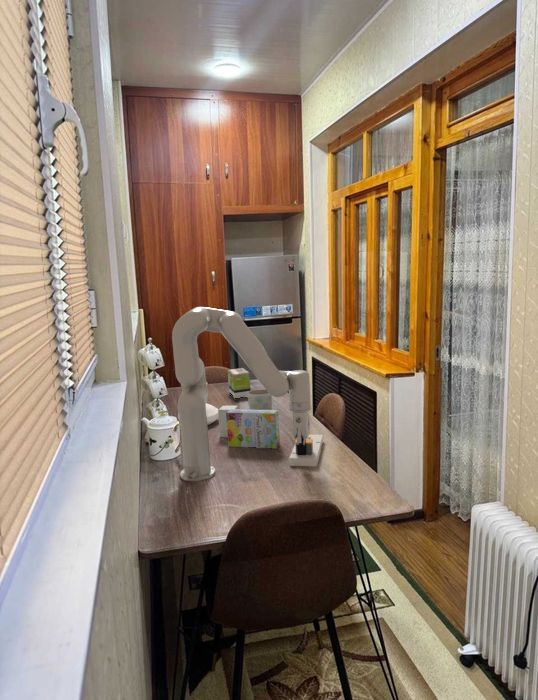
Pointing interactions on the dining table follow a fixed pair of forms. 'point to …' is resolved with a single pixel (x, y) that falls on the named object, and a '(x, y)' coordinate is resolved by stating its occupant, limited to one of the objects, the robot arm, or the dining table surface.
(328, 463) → the dining table surface
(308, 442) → the fader knob
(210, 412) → the candle holder
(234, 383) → the tea box
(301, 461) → the fader console
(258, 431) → the snack box
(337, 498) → the dining table surface
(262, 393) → the planter
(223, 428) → the supplement box
